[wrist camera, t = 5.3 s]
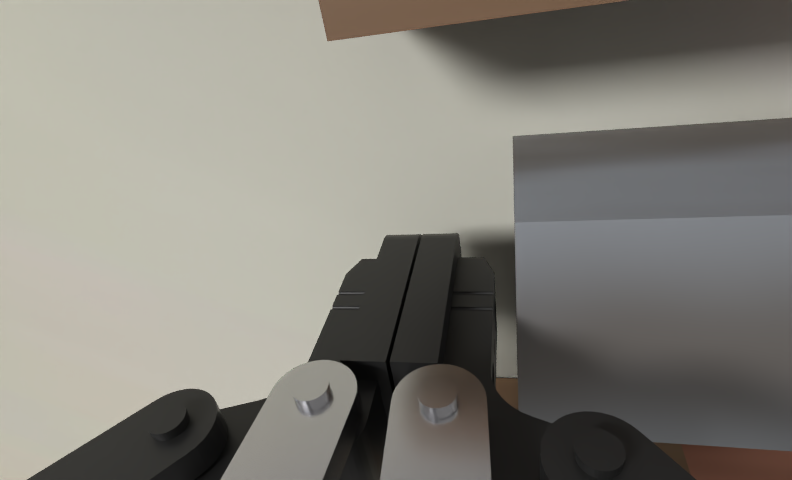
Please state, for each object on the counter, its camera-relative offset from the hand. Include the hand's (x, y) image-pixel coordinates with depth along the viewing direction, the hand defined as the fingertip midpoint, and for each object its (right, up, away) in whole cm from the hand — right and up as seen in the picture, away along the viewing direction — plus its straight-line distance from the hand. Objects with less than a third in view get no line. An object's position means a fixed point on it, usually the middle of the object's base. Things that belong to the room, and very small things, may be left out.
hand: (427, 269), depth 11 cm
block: (+5, +1, 0) cm, 5 cm away
